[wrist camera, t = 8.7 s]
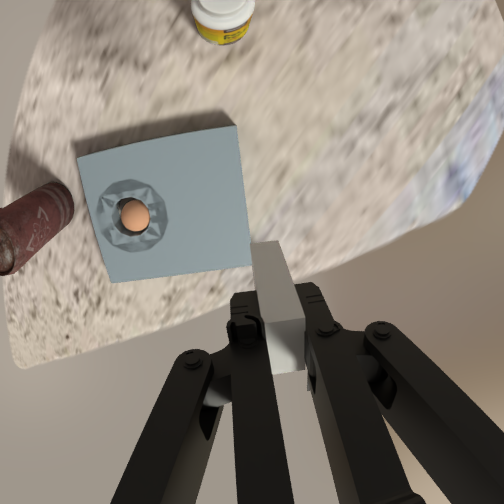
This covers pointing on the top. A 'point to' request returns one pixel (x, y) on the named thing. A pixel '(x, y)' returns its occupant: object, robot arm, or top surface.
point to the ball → (135, 215)
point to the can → (32, 224)
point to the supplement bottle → (222, 19)
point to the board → (170, 204)
